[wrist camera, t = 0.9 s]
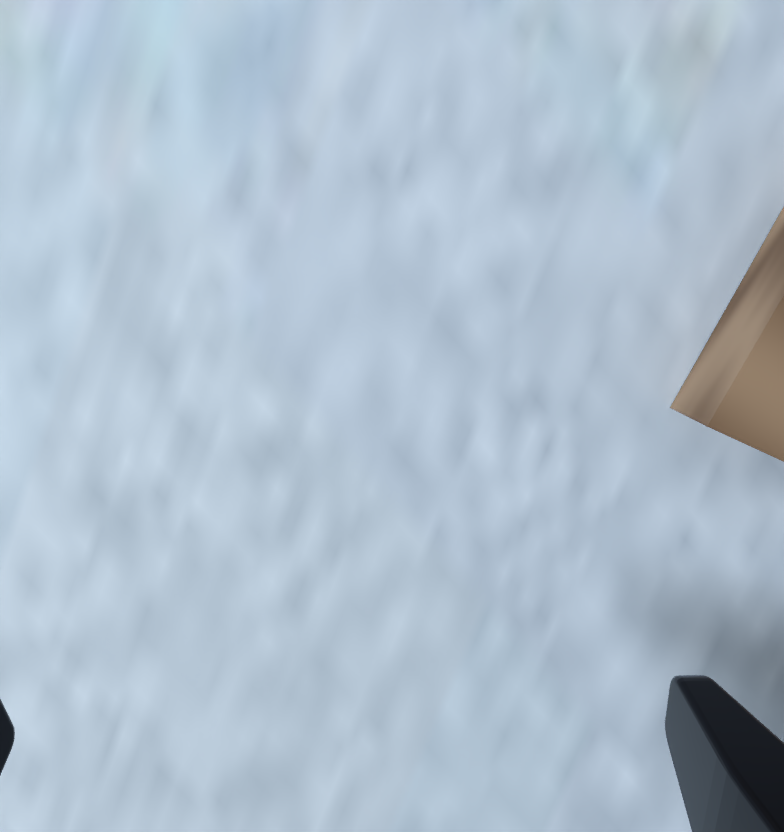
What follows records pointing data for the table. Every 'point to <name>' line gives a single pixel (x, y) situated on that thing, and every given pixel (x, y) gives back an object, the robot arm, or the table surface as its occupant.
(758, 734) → the robot arm
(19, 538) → the table surface
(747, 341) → the walnut pedestal
